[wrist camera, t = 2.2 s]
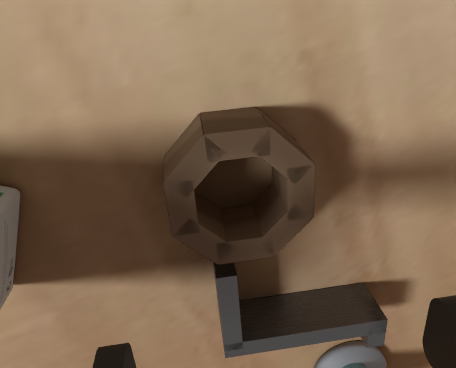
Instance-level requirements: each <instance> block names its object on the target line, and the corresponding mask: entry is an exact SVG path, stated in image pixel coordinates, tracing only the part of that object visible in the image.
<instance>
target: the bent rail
mask: <svg viewBox="0 0 456 368" xmlns="http://www.w3.org/2000/svg"><path fill="white" fill-rule="evenodd" d="M213 265H214V274H215V282H216V291H217V299H218V307H219V316H220V323H221V330H222V338H223V345H224V352H225V358H229V357H235V356H242V355H248V354H254V353H260V352H267V351H273V350H279V349H286V348H292V347H298V346H304V345H311V344H317V343H323V342H330V341H336V340H342V339H348V338H355V337H361V338H362V340H363V342H364V344H365V346H366V347H367V348H369V347H376V346H382V345H384V340H385V333H386V327H387V320H388V319H387V318H386V316H385V315H384V313H383V312H382V310H381V309H380V307H379V305H378V304H377V302H376V301H375V299H374V298H373V296H372V295H371V293H370V292H369V290H368V289H367V287H366V285H365V284H364V283H358V284H351V285H344V286H338V287H331V288H324V289H317V290H311V291H304V292H297V293H290V294H284V295H277V296H270V297H264V298H257V299H250V300H243V301H239V295H238V283H237V274H236V269H235V265H234V262H233V263H226V264H216V263H215V262H213Z"/></svg>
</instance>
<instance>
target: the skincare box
mask: <svg viewBox="0 0 456 368" xmlns="http://www.w3.org/2000/svg"><path fill="white" fill-rule="evenodd" d="M19 207H20V192H19V191H18V190H17V189H15V188H11V187H5V186H0V309H1V307H2V306H3V304H4V302H5V301H6V299H7V297H8V295H9V293H10V292H11V290H12V287H13V279H14V269H15V259H16V246H17V234H18V221H19Z"/></svg>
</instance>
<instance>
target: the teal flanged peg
mask: <svg viewBox="0 0 456 368" xmlns="http://www.w3.org/2000/svg"><path fill="white" fill-rule="evenodd" d="M314 368H387V363H386V360H385V358H384V356H383V354H382V353H381V351H380V349H379V348H378V347H377V346H376V347H369V348H367V347H366V346H365V344H364V342H363V341H350V342H345V343H342V344H339V345H337V346H335V347H333V348H331V349H329V350H328V351H327V352H325V353H324V354H323V355H322V356H321V357H320V358H319V359H318V361H317V362H316V364H315V367H314Z"/></svg>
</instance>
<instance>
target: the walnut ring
mask: <svg viewBox="0 0 456 368" xmlns="http://www.w3.org/2000/svg"><path fill="white" fill-rule="evenodd" d="M257 156H259V157H261V158H262V159H263V160H265V161H266V162H267V163H268V164H270V165H271V166H272V183H271V184H270V185H269V186H268V188H267V189H266V190H265V191H264V192H263V193H262V194H261V195H260V196H259V197H258V198H257V199H256V200H255V201H254V202H253V203H252V205H247V206H239V207H231V208H223V209H219V208H218V207H216V206H215V205H213V204H212V203H210V202H209V201H207V200H206V199H204V198H203V197H201V196H200V195H199V194H197V193H196V192H195V188H196V187H197V186H198V185H199V183H200V182H201V181H202V180H203V179H204V178H205V177H206V175H207V174H208V173H209V172H210V171H211V170H212V169H213V167H214V166H215V165H216V164H217V163H218V162H219V161H224V160H232V159H241V158H249V157H257ZM163 186H164V192H165V198H166V204H167V209H168V215H169V221H170V227H171V233H172V236H173V238H175V239H177V240H178V241H180V242H182V243H183V244H185V245H187V246H188V247H190V248H192V249H193V250H195V251H197V252H198V253H200V254H201V255H203V256H205V257H206V258H208V259H210V260H211V261H213V262H215V263H216V264H226V263H233V262H241V261H248V260H255V259H262V258H269V257H274V256H275V255H276V254H277V253H278V252H279V251H280V250H281V249H282V248H283V247H284V246H286V245H287V244H288V243H289V242H290V241H291V240H292V239H293V238H294V237H295V236H296V235H297V234H298V233H299V232H300V231H301V230H302V229H303V228H304V227H305V226H306V225H307V224H308V223H309V222H310V221H311V220H312V219H313V217H314V189H315V164H314V162H313V161H312V160H311V159H310V158H309V156H308V155H307V154H306V153H305V151H304V150H303V149H302V148H301V146H300V145H299V144H298V143H297V142H296V140H295V139H294V138H292V137H291V136H290V135H289V134H288V133H286V132H285V131H284V130H283V129H282V128H281V127H279V126H278V125H277V124H276V123H275V122H273V121H272V120H271V119H270V118H269V117H268V116H266V115H265V114H264V113H263V112H262V111H260V110H259V109H258V108H257V107H250V108H241V109H232V110H223V111H214V112H205V113H200V114H198V115H197V117H196V118H195V119H194V120H193V121H192V123H191V124H190V125H189V126H188V128H187V129H186V130H185V131H184V132H183V134H182V135H181V136H180V137H179V139H178V140H177V141H176V142H175V143H174V145H173V146H172V147H171V148H170V150H169V151H168V152H167V153H166V154H165V160H164V176H163Z"/></svg>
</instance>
